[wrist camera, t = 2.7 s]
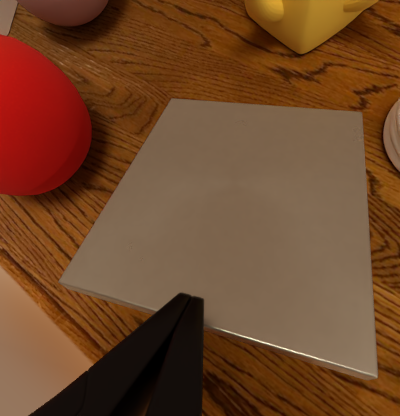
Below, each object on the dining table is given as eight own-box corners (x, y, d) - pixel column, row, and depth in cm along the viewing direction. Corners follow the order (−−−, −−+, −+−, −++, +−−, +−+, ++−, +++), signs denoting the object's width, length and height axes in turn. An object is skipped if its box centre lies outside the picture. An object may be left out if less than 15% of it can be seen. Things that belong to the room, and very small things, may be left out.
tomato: (62, 232, 27) (-78, 199, 16) (-14, 169, 31) (-166, 108, 20) (137, 129, 28) (56, 30, 17) (53, 82, 32) (-54, -20, 21)
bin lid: (368, 381, 8) (379, 379, 8) (66, 289, 12) (57, 282, 11) (357, 123, 16) (362, 111, 15) (173, 108, 19) (171, 97, 18)
